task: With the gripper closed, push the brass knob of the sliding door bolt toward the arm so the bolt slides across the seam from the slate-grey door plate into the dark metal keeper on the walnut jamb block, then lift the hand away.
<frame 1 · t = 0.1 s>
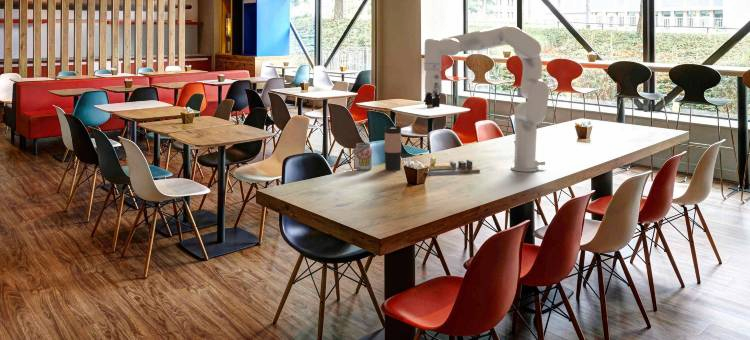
hand: (432, 105, 304), 31 cm above the table, fingers open, 9 cm apart
glass jar: (362, 169, 322), on the table
travel mug: (392, 169, 321), on the table
jamb keeper: (466, 166, 315), on the table
door plate: (451, 172, 314), on the table
bolt: (440, 163, 312), point 4 cm above the table, slide at 0.0 cm
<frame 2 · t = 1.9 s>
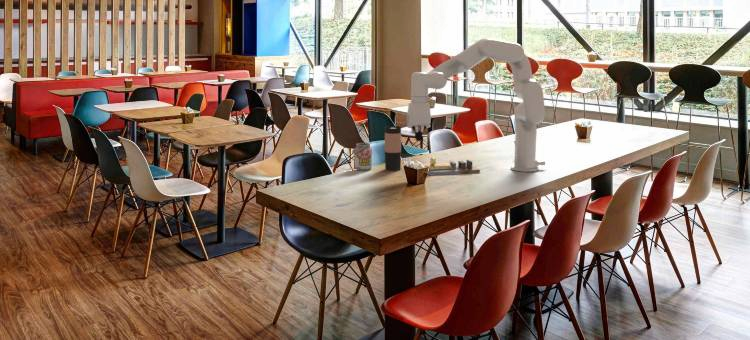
hand: (418, 140, 308), 15 cm above the table, fingers closed
nothing on the table moved.
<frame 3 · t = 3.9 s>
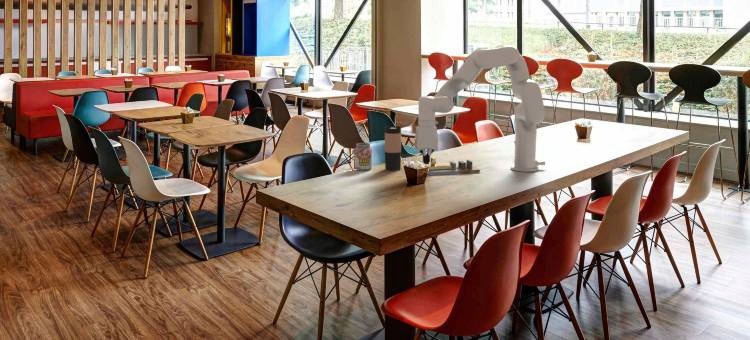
hand: (426, 163, 311), 4 cm above the table, fingers closed
bolt: (440, 163, 312), point 4 cm above the table, slide at 0.1 cm, touching gripper
everything else where it was.
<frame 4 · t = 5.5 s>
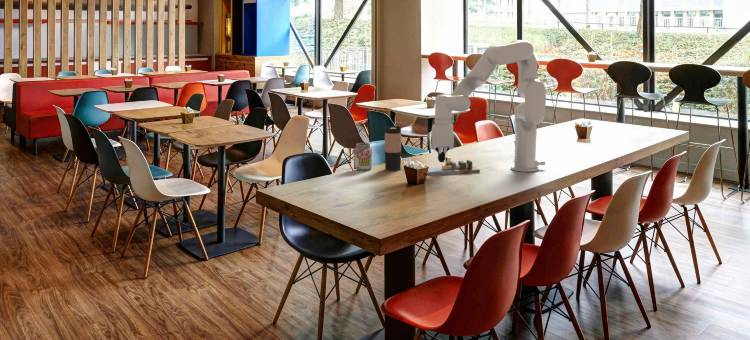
hand: (441, 161, 312), 5 cm above the table, fingers closed
bolt: (455, 162, 314), point 4 cm above the table, slide at 7.2 cm, touching gripper
everything else where it was.
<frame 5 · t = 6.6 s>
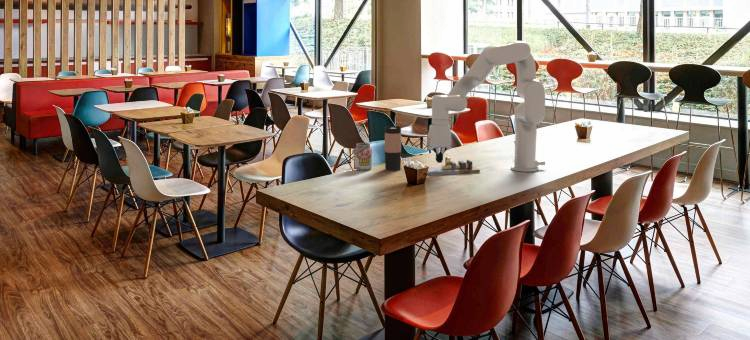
hand: (439, 162, 312), 5 cm above the table, fingers closed
bolt: (455, 162, 314), point 4 cm above the table, slide at 7.0 cm
everything else where it was.
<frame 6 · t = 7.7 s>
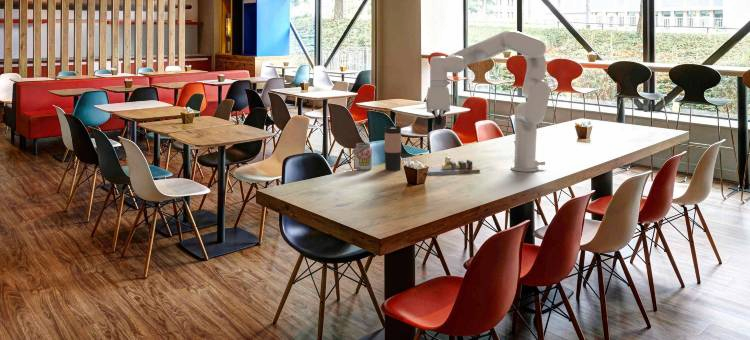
hand: (438, 124, 309), 22 cm above the table, fingers closed
nothing on the table moved.
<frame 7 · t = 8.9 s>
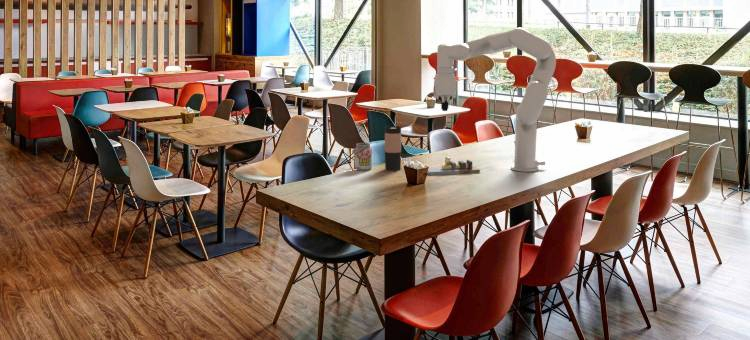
hand: (444, 110, 320), 27 cm above the table, fingers closed
nothing on the table moved.
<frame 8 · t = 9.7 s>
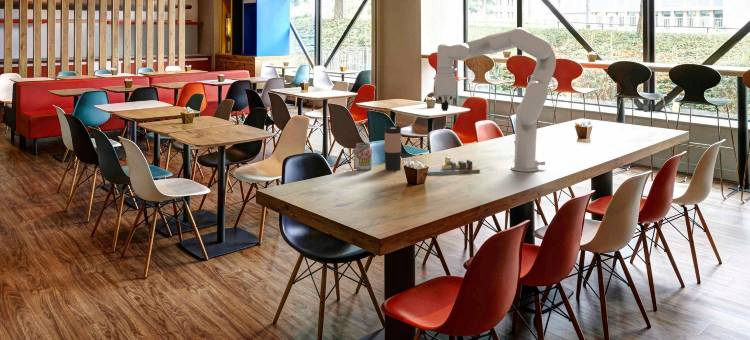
hand: (444, 110, 320), 27 cm above the table, fingers closed
nothing on the table moved.
at the end: bolt slide at 7.0 cm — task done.
